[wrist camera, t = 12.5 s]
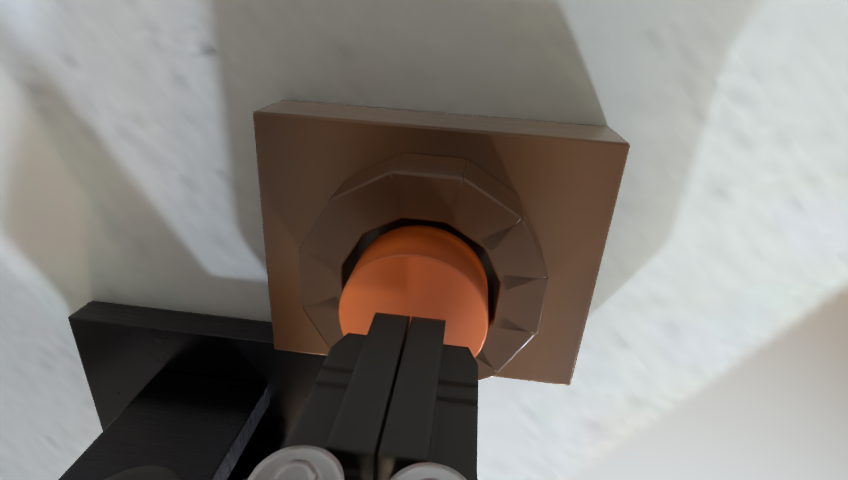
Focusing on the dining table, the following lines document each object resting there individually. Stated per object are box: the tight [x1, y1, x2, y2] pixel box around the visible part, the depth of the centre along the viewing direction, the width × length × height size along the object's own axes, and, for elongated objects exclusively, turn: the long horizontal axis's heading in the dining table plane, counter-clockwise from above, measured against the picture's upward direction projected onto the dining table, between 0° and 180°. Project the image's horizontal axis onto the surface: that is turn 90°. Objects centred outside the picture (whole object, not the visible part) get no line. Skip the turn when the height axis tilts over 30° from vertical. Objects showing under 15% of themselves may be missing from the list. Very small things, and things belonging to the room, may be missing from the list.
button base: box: [253, 100, 630, 385], centre depth 14 cm, size 10×8×4 cm
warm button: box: [338, 225, 488, 358], centre depth 12 cm, size 4×4×2 cm
